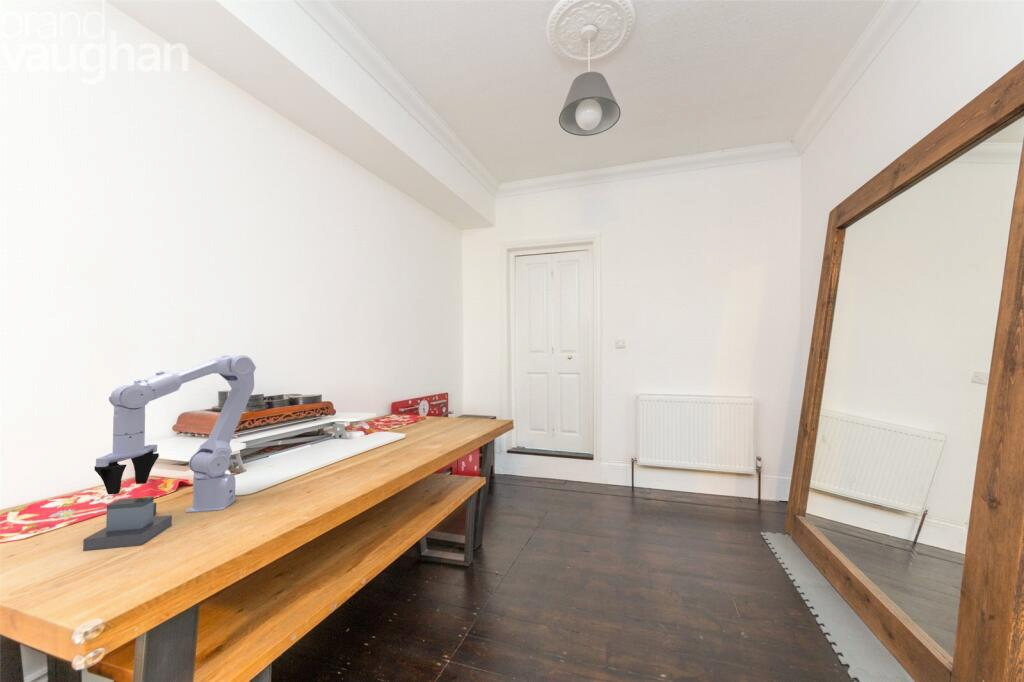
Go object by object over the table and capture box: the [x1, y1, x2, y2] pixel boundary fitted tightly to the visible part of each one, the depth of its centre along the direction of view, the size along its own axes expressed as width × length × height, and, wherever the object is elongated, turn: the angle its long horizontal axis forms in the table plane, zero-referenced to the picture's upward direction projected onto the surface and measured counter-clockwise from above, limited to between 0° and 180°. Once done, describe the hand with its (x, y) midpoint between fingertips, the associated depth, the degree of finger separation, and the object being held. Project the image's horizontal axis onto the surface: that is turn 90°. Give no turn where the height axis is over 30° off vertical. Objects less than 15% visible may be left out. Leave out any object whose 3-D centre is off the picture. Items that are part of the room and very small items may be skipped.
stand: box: [82, 514, 173, 552], centre depth 94 cm, size 11×11×2 cm
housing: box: [105, 496, 155, 532], centre depth 95 cm, size 4×7×6 cm, turn 102°
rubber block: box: [153, 502, 157, 517], centre depth 107 cm, size 4×4×3 cm
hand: (128, 488), depth 98 cm, fingers open, 7 cm apart
